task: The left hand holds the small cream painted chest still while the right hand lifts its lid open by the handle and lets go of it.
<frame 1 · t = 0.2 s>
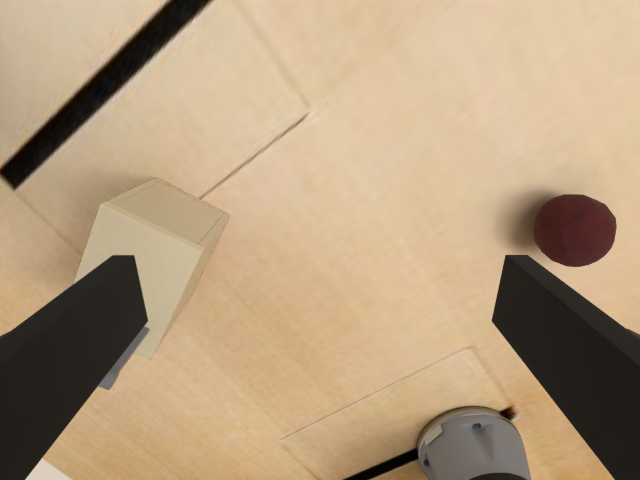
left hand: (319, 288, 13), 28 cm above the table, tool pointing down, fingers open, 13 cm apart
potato: (552, 218, 41), on the table
lid: (108, 307, 29), point 14 cm above the table, hinge at 0.0°
chest: (173, 242, 42), on the table
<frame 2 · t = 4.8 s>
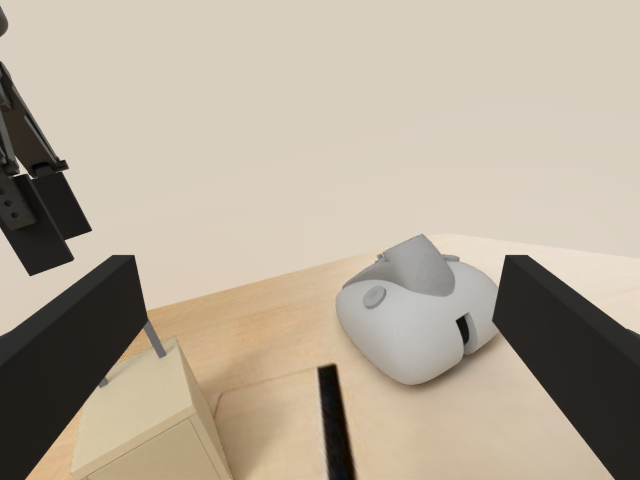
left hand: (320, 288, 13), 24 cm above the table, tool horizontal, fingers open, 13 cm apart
right hand: (68, 248, 31), fingers open, 13 cm apart
lid: (119, 362, 32), point 14 cm above the table, hinge at 0.0°
chest: (180, 471, 36), on the table
projector: (402, 332, 47), on the table
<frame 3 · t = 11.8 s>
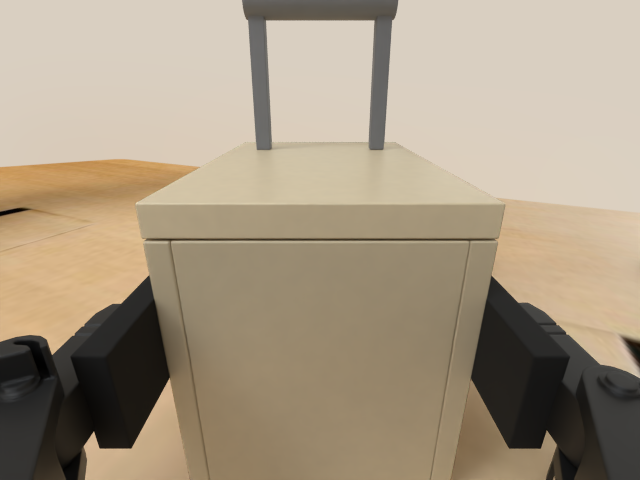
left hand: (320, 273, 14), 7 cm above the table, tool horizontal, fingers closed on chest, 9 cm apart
lid: (320, 79, 14), point 14 cm above the table, hinge at 0.0°
chest: (320, 368, 18), on the table, touching left hand
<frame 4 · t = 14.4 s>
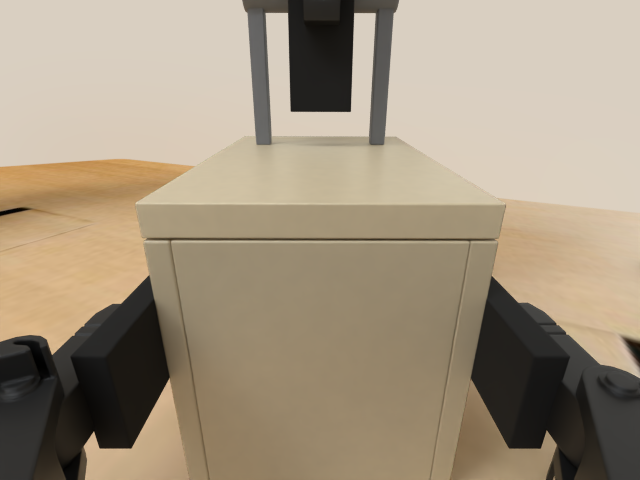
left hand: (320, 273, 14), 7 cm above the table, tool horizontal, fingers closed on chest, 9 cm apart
lid: (320, 74, 14), point 14 cm above the table, hinge at 1.4°, touching right hand
chest: (319, 368, 18), on the table, touching left hand
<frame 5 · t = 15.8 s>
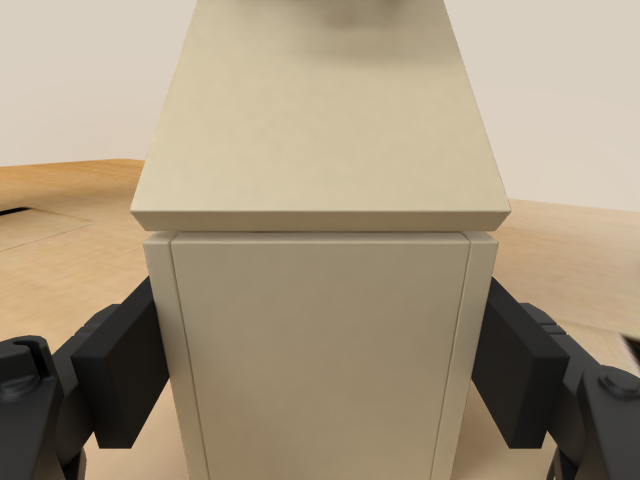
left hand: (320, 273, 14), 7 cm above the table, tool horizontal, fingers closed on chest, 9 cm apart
chest: (319, 368, 18), on the table, touching left hand
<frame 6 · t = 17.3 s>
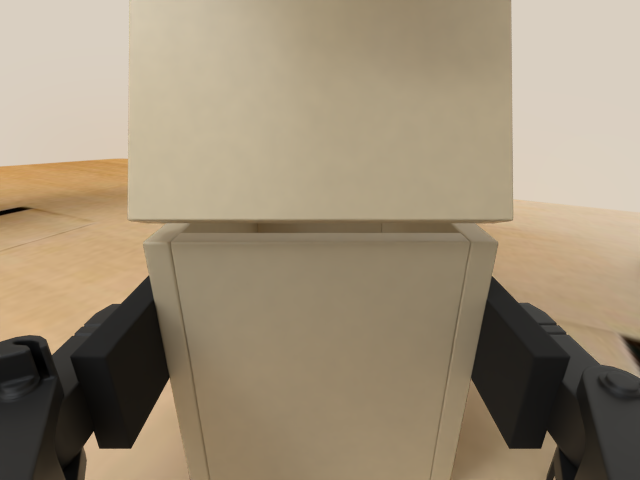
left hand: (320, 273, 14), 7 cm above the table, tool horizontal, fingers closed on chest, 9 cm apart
chest: (319, 368, 18), on the table, touching left hand
when the left hand's fingers open (7 cm above the table, at t = 20.9 s): chest stays where it is, on the table.
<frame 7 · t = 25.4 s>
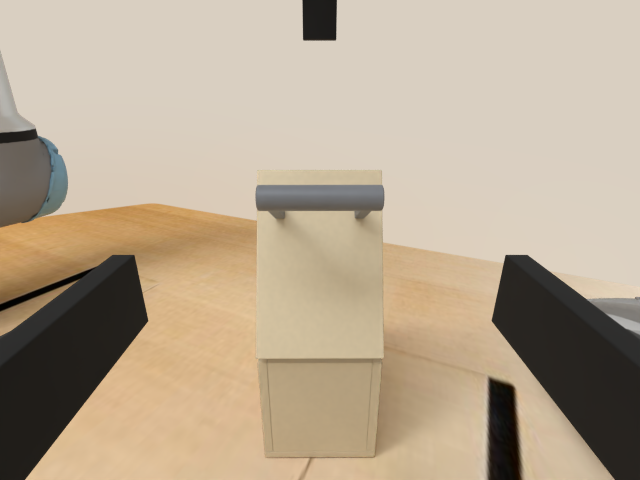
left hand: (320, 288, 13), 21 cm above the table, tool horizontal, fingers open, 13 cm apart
lid: (319, 263, 22), point 18 cm above the table, hinge at 65.1°
chest: (319, 396, 35), on the table
projector: (620, 398, 35), on the table
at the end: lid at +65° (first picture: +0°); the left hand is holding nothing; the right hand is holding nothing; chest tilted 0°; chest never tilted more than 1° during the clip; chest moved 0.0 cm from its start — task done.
